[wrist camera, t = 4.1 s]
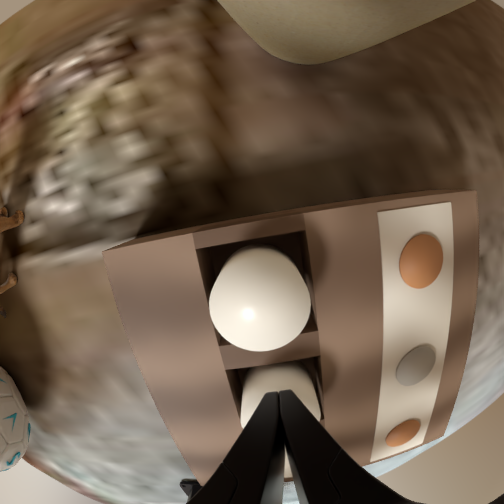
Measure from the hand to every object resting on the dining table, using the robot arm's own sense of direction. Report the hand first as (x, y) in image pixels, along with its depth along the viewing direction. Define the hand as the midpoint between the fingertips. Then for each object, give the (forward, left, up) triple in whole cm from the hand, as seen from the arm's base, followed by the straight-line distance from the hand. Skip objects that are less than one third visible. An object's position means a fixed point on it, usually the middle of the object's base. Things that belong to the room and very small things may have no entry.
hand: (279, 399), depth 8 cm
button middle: (-5, 0, -8) cm, 9 cm away
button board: (-5, -3, -11) cm, 12 cm away
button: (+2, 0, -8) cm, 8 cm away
